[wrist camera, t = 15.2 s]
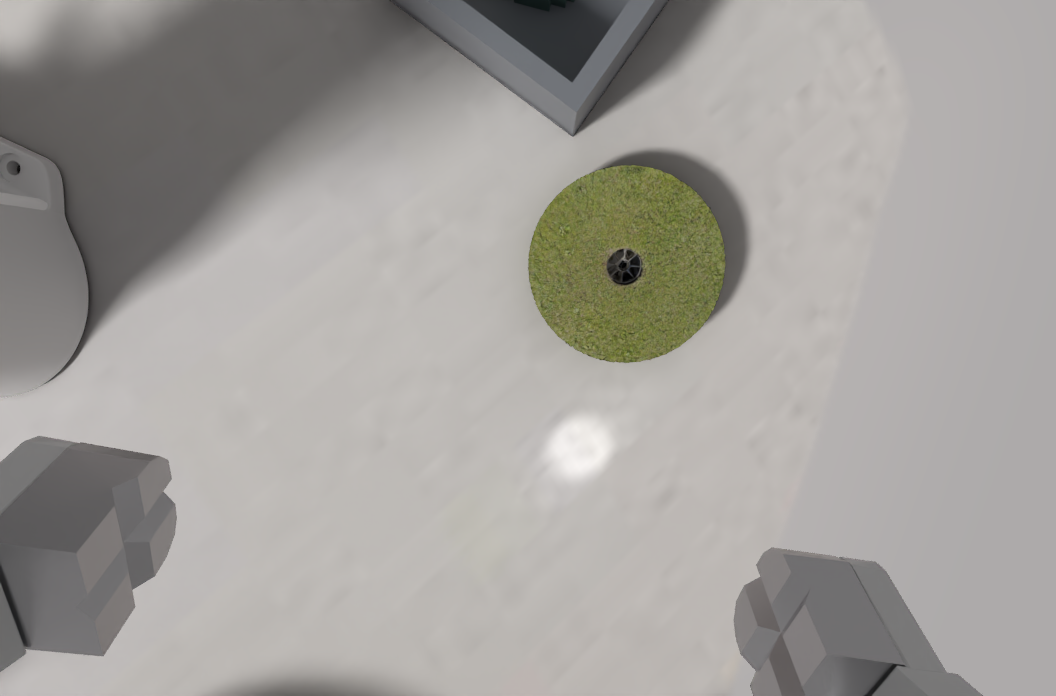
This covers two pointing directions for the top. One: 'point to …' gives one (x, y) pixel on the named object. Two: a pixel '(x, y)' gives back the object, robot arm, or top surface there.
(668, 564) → the top surface
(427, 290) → the top surface
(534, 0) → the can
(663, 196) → the mat
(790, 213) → the top surface
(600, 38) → the bin
